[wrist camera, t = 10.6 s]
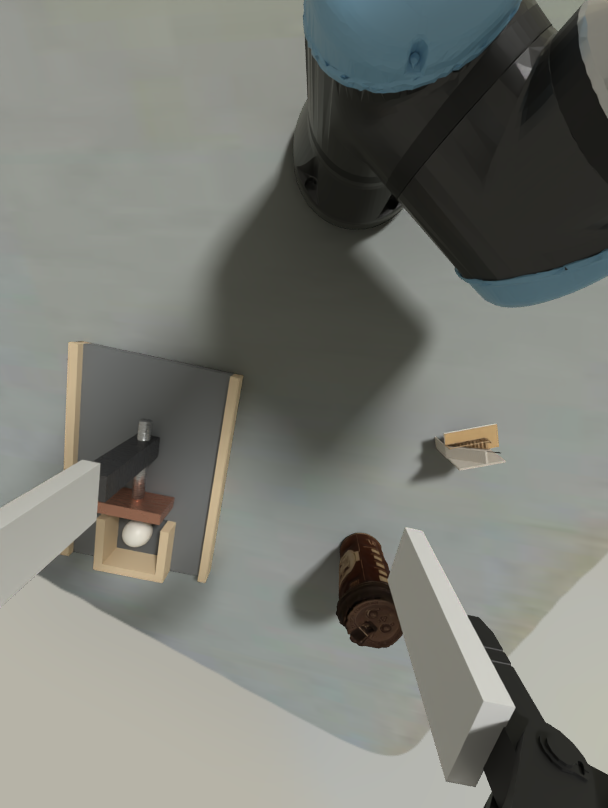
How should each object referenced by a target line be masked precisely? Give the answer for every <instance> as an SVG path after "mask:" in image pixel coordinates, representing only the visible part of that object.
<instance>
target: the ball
mask: <svg viewBox="0 0 608 808" xmlns="http://www.w3.org/2000/svg"><path fill="white" fill-rule="evenodd" d="M152 532H153V528H152V525H151V523H146V522H141V521H136V520H131V521H130V522H128V523H127V524H126V525H125V527H124V529H123V532H122V538H123V541H124V542H125V544H127V545H128V546H130V547H140V546H142V545H144V544H146V543H147V542H148V541H149V539H150V538H151V536H152Z"/></svg>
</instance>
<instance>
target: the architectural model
mask: <svg viewBox="0 0 608 808" xmlns="http://www.w3.org/2000/svg"><path fill="white" fill-rule="evenodd" d="M443 437H444V443H443V442H441V441H440V440H439V439H438V438H437V437H435V443H436V449H438V450H439V451H440V452H441V453H442V454H443V455H444V456H445V457H446V458H447V459H448V460H449V461H450V462H451V463H452V464H453V465H454V466H455V467H456V468H457V469H458V470H459V471H460V470H465V469H471V468H476V467H482V466H487V465H493V464H499V463H504V462H506V460H504V459H503V458H501V457H500V456H498V455H497V454H496V453H500V452H493V451H491V450H490V448H493V447H499V442H498V430H497V424H496V423H495V424H490V425H484V426H479V427H474V428H468V429H463V430H458V431H452V432H447V433H443ZM447 445H448V446H447ZM449 445H450V446H449Z"/></svg>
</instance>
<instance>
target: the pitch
mask: <svg viewBox="0 0 608 808" xmlns="http://www.w3.org/2000/svg"><path fill="white" fill-rule="evenodd" d="M242 381H243V375H238V374H233V373H229V372H224V371H219V370H215V369H210V368H205V367H201V366H196V365H191V364H187V363H182V362H177V361H172V360H168V359H163V358H158V357H154V356H149V355H144V354H140V353H135V352H130V351H126V350H121V349H116V348H112V347H107V346H102V345H97V344H93V343H88V342H83V341H78V342H69V345H68V372H67V398H66V424H65V450H64V470H65V469H67V468H69V467H71V466H72V465H74V464H76V463H77V462H79V461H81V460H86V461H91V462H92V461H94V460H95V459H97V458H99V457H100V456H102V455H104V454H105V453H107V452H108V451H110V450H112V449H113V448H115V447H116V446H118V445H120V444H121V443H123V442H124V441H126V440H128V439H129V438H131V437H132V436H134V435H136V434H137V433H138V424H139V420H140V419H149V420H152V429H151V435H152V436H157V437H160V443H159V452H158V457H157V458H156V459H155V460H154V461H153V462H152V463H150V464H149V465H148V467H147V477H146V486H145V492H150V493H155V494H160V495H165V496H170V497H174V505H173V508H172V509H171V511H170V512H169V513H168V515H167V516H166V517H165V519H164V520H163V521H162V523H161V524H160V525H156V524H151V525H152V528H153V532H152V536H151V538H150V539H149V541H148V542H147V543H146V544H144V545H142V546H140V547H130V546H128V545H127V544H125V542H124V541H123V538H122V532H123V529H124V527H125V525H126V524H127V523H128V522H130V521H131V519H126V518H121V517H116V516H111V515H106V514H100V513H97V520H96V521H95V522H94V523H93V524H92V525H91V526H90V527H89V528H88V529H86V530H85V531H84V532H83V533H82V534H81V535H80V536H79V537H78V538H77V539H75V540H74V541H73V542H72V543H71V544H70V545H69V546H68V547H67V548H66V549H64V550H63V551H62V552H61V555H65V556H69V555H70V554H71V553H72V552H77V553H83V554H88V555H93V556H94V565H93V570H98V571H103V572H108V573H113V574H119V575H124V576H129V577H134V578H139V579H144V580H149V581H154V582H160V583H163V581H164V579H165V578H166V576H167V574H168V573H169V571H174V572H179V573H184V574H190V575H195V576H198V582H203V583H206V580H207V578H208V575H209V573H210V570H211V564H212V558H213V552H214V546H215V540H216V534H217V528H218V523H219V517H220V511H221V505H222V499H223V493H224V487H225V481H226V475H227V469H228V463H229V458H230V452H231V446H232V440H233V434H234V428H235V422H236V416H237V410H238V404H239V398H240V392H241V387H242ZM124 487H125V488H130V489H132V487H133V479H132V480H131V481H130V482H128V483H127V484H126V485H125V486H124Z"/></svg>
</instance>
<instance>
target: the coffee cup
mask: <svg viewBox="0 0 608 808" xmlns="http://www.w3.org/2000/svg"><path fill="white" fill-rule="evenodd" d="M389 574H390V571H389V567H388V564H387V562H386V561H385V559H384V556H383V552H382V550H381V545H380V543H379V542H378V541H377V540H376V539H375V538H374V537H372V536H370V535H368V534H366V533H354V534H352V535H350V536H348V537H347V538H346V539H345V540H344V541H343V542H342V545H341V547H340V564H339V601H338V603H337V612H336V615H337V616H338V619H339V621H340V622H339V623H340V624H342V625H343V626H344V627H345V628H346V629H347V633H348V634H350V640H351V641H352V642H353V643H357V644H358V645H359V646H368V647H374V648H378V649H379V648H382V647H383V648H387V647H389V646H390V645H393V644H394V643H395V642H396V641H397V640H398V639H399V638H400V637H401V636H402V634H403V632H402V628H401V625H400V621H399V618H398V615H397V611H396V608H395V604H394V601H393V597H392V594H391V590H390V587H389V584H388V577H389Z"/></svg>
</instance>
